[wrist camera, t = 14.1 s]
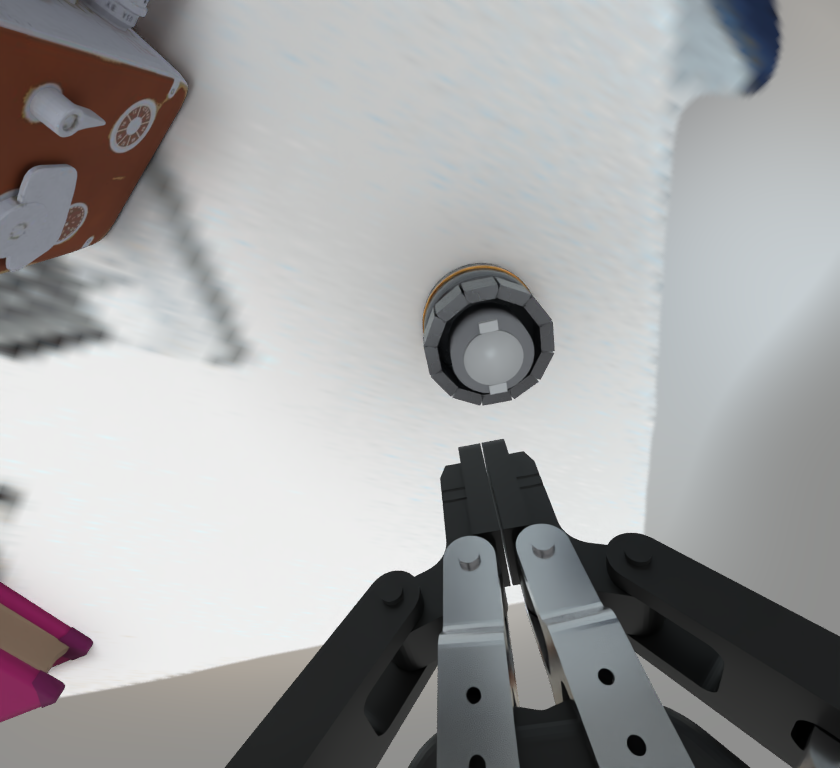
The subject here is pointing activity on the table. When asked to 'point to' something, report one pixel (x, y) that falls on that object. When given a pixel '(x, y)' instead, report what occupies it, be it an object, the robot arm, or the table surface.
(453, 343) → the lens cap
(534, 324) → the lens barrel
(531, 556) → the robot arm
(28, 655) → the book
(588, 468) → the table surface
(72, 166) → the cine camera
